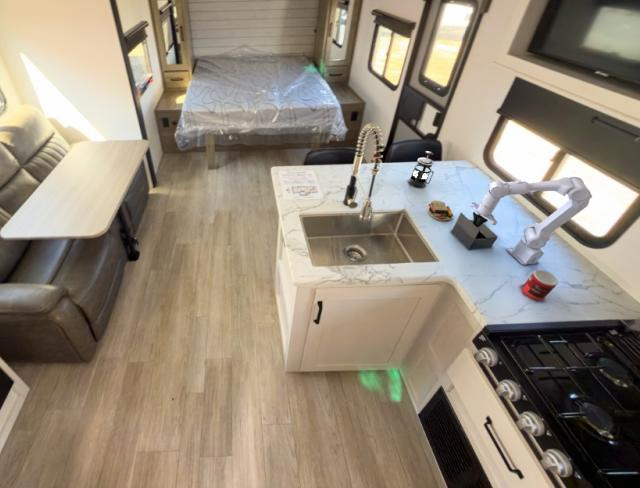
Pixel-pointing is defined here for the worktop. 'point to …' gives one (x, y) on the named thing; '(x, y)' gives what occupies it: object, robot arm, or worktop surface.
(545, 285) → the canned food
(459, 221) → the filter lid
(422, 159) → the french press
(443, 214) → the toy sandwich meal
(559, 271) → the worktop surface
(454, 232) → the grey hinged lid box
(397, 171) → the worktop surface
